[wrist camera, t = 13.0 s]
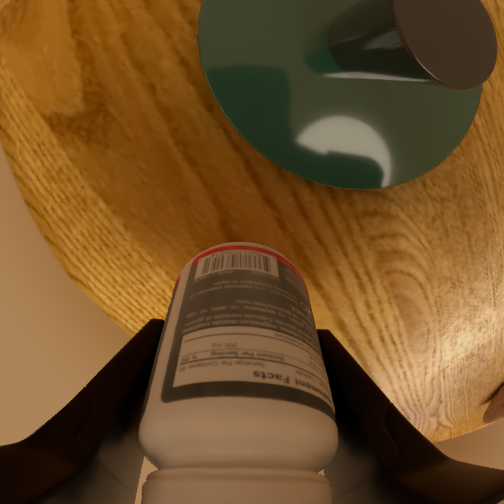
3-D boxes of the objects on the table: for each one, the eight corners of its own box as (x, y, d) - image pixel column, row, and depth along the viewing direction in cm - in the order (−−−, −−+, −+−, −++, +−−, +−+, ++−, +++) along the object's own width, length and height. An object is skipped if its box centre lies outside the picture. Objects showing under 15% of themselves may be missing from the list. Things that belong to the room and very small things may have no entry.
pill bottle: (247, 352, 13) (248, 545, 6) (153, 297, 11) (94, 519, 4) (332, 288, 11) (393, 521, 4) (232, 208, 9) (207, 533, 2)
